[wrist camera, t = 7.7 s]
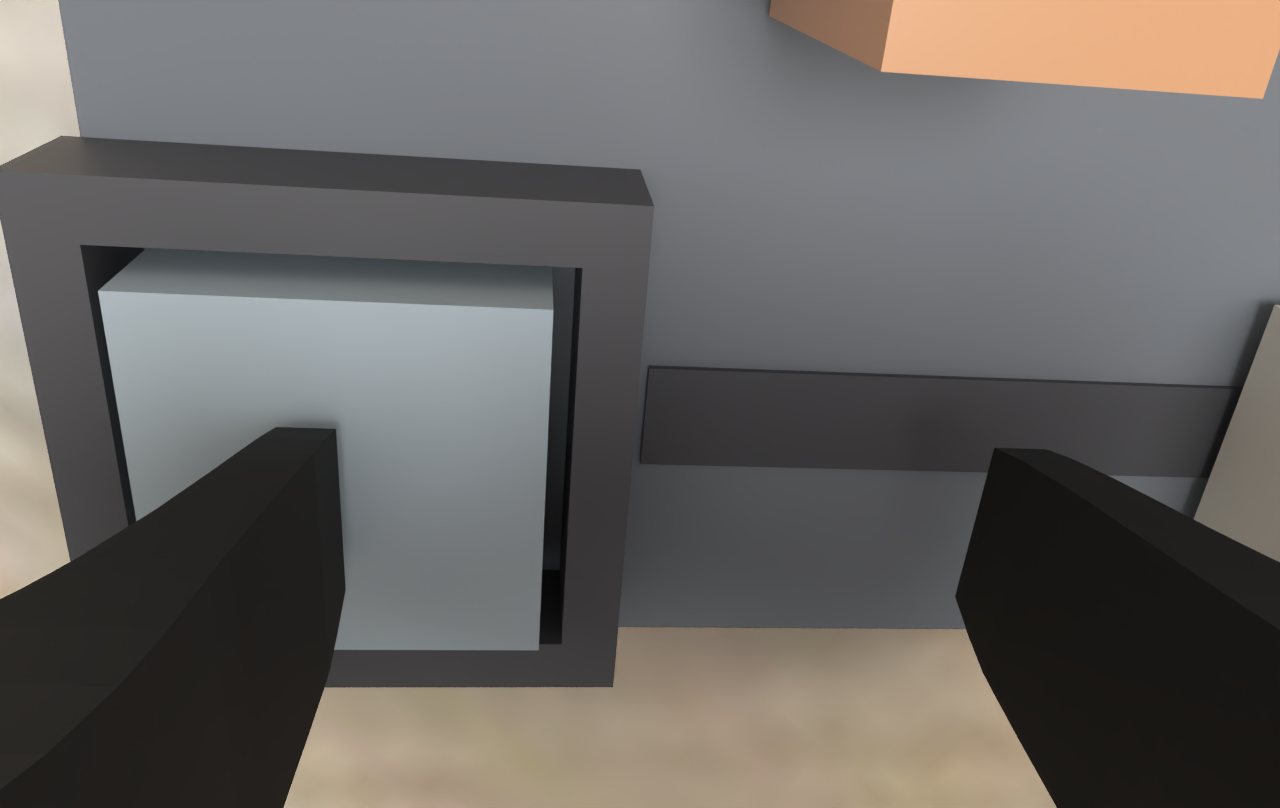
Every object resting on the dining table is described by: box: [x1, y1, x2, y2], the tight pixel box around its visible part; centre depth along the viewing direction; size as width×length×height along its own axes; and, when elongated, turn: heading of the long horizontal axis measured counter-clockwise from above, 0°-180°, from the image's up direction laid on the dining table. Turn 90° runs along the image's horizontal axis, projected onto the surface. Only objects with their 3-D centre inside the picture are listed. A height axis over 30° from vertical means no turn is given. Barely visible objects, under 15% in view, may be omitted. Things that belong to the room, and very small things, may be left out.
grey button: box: [98, 248, 553, 650], centre depth 12 cm, size 4×4×2 cm
